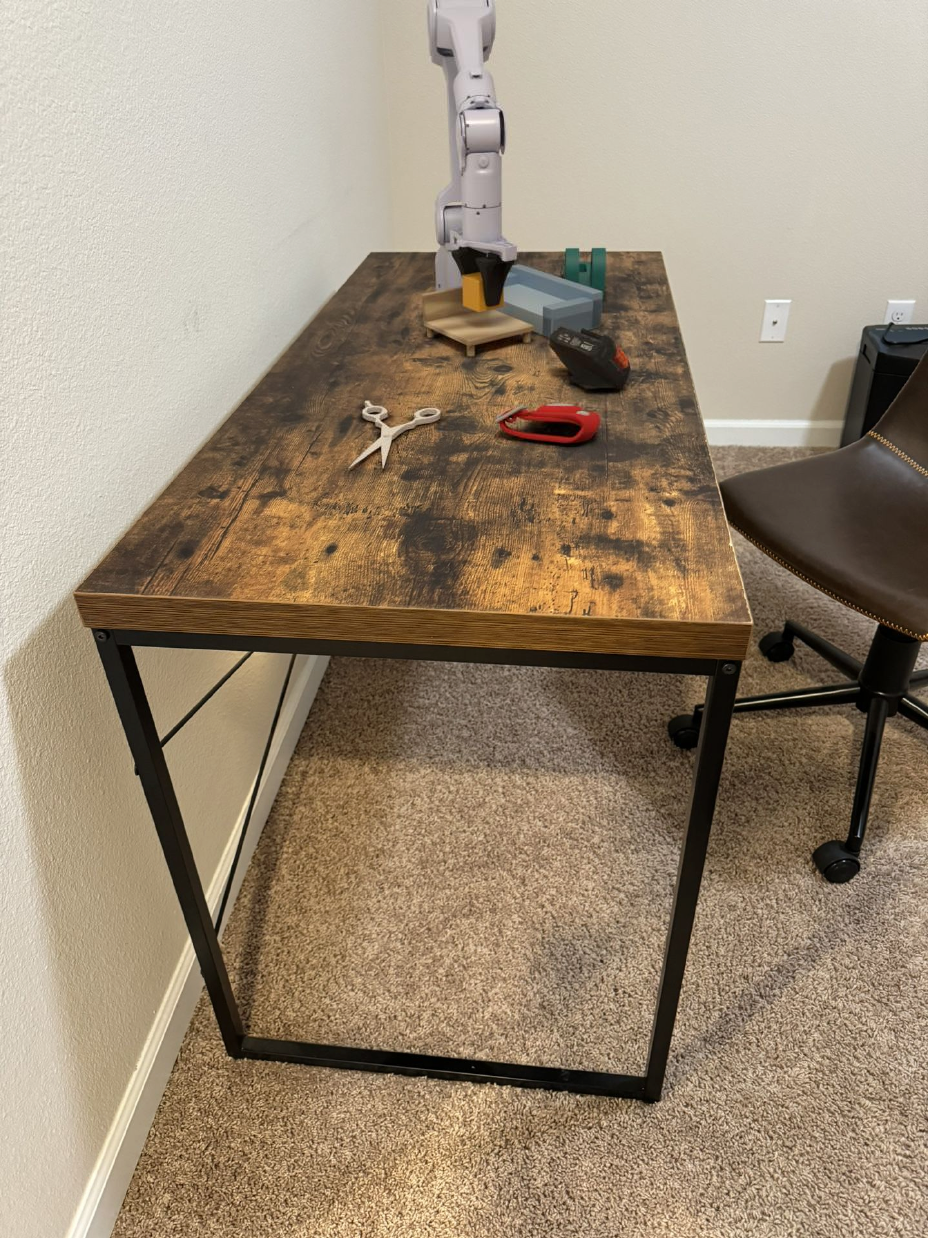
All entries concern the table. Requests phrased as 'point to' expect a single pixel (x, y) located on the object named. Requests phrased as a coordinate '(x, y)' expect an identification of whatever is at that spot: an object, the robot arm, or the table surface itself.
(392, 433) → the scissors
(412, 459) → the table surface
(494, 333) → the low wooden bench
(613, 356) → the battery
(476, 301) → the block
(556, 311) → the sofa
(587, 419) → the tracker holder
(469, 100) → the robot arm
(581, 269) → the bracket
